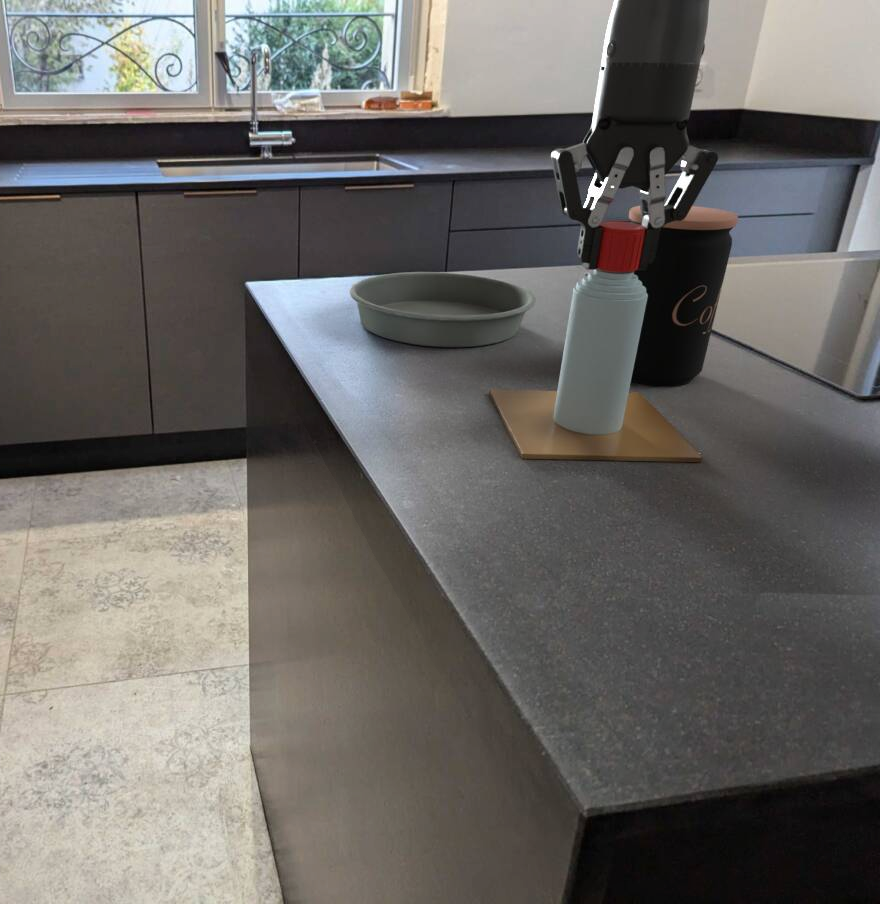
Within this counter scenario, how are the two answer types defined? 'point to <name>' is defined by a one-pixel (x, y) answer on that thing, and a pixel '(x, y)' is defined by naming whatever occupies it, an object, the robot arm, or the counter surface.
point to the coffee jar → (682, 295)
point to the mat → (545, 439)
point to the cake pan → (441, 308)
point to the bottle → (600, 352)
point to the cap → (620, 246)
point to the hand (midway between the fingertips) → (613, 267)
